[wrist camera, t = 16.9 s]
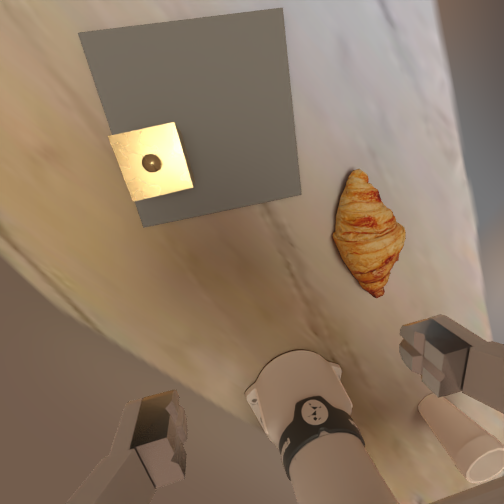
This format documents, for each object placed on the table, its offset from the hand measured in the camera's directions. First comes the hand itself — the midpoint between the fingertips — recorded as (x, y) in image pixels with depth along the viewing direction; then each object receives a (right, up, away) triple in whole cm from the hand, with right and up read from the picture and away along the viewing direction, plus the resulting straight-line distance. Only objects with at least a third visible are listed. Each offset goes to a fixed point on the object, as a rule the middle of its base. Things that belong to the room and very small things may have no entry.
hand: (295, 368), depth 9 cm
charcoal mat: (-7, +20, +23) cm, 31 cm away
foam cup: (+40, -31, +50) cm, 71 cm away
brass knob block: (-12, +15, +23) cm, 30 cm away
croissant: (+16, +7, +32) cm, 37 cm away
